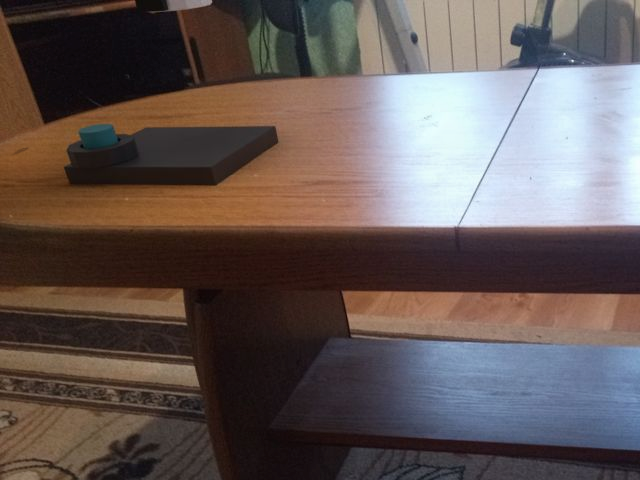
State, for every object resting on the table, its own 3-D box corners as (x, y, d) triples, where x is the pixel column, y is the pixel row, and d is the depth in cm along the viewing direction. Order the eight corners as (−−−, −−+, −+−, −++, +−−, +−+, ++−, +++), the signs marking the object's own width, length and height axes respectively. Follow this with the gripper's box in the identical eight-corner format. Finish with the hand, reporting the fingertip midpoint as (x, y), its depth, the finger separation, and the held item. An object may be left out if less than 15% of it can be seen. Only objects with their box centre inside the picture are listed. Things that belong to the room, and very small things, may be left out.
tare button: (76, 150, 71) (70, 132, 70) (97, 141, 74) (91, 123, 73) (105, 150, 70) (99, 132, 69) (125, 141, 73) (120, 123, 72)
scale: (65, 187, 72) (52, 152, 70) (150, 144, 84) (141, 112, 82) (213, 188, 68) (203, 151, 67) (279, 143, 80) (272, 110, 79)
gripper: (53, -348, 49) (152, 19, 61) (205, -289, 66) (260, -10, 78) (-40, -332, 51) (74, 23, 63) (133, -278, 68) (197, -7, 80)
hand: (177, 4), depth 71 cm, fingers closed on white cup, 8 cm apart
